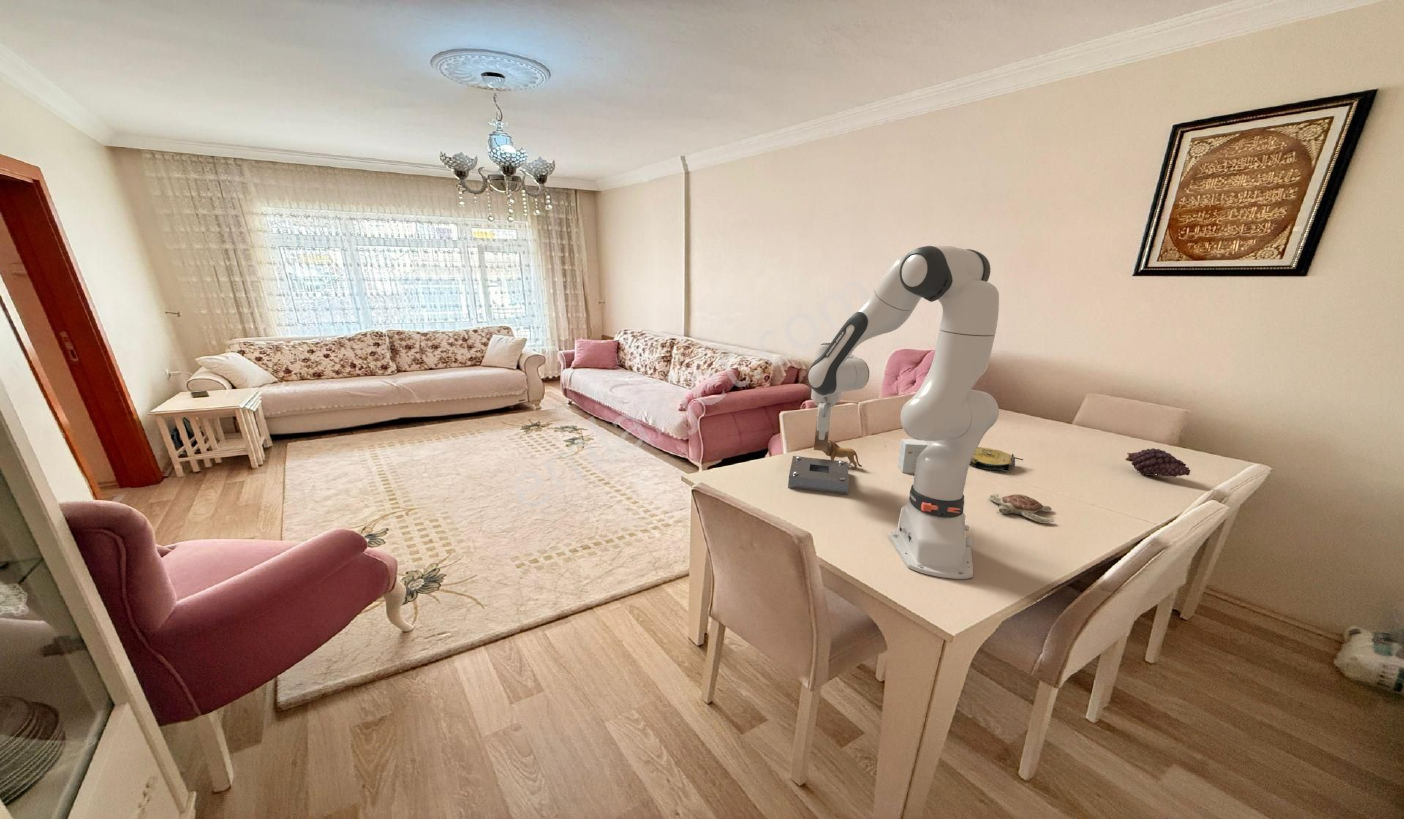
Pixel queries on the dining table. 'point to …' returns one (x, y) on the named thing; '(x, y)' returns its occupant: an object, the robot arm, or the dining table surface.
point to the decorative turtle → (1021, 506)
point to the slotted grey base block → (819, 475)
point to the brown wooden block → (820, 441)
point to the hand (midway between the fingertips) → (821, 436)
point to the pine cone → (1157, 463)
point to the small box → (910, 454)
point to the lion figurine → (841, 453)
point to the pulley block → (992, 460)
